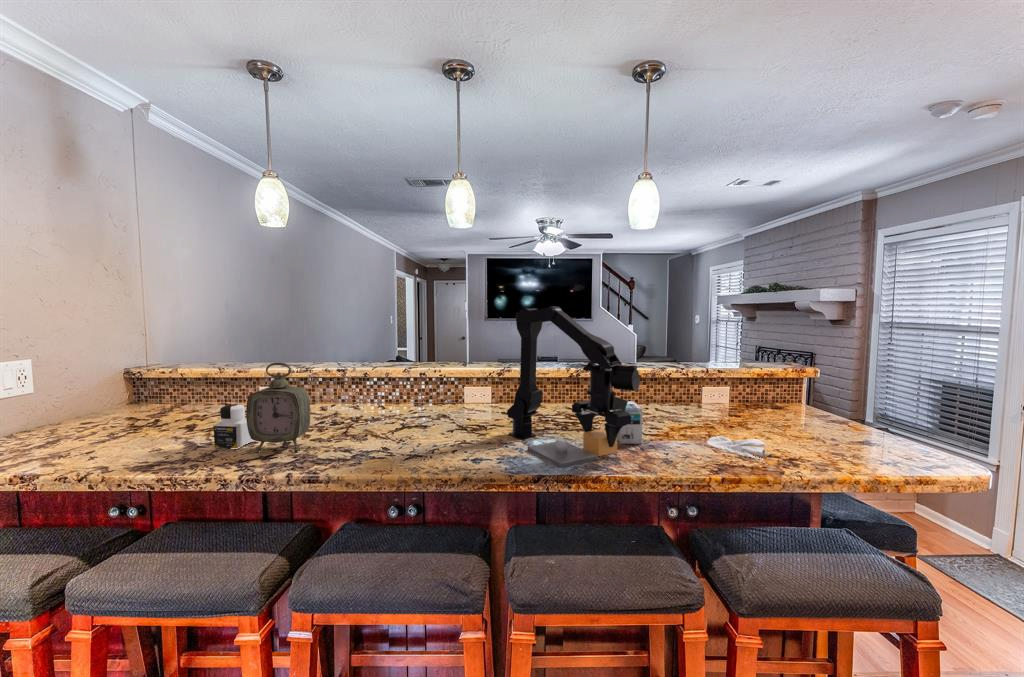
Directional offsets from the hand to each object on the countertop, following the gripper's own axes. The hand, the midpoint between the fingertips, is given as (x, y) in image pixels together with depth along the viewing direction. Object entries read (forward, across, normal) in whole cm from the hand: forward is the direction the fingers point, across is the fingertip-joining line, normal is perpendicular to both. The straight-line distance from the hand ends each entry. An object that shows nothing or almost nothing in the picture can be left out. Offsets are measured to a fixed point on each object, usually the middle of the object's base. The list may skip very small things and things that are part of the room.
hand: (599, 442), depth 127 cm
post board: (+2, +3, +11) cm, 12 cm away
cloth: (+3, -19, -38) cm, 43 cm away
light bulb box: (+3, +5, -15) cm, 16 cm away
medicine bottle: (+3, +58, +89) cm, 106 cm away
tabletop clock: (+3, +47, +77) cm, 90 cm away
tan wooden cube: (+2, 0, 0) cm, 3 cm away
